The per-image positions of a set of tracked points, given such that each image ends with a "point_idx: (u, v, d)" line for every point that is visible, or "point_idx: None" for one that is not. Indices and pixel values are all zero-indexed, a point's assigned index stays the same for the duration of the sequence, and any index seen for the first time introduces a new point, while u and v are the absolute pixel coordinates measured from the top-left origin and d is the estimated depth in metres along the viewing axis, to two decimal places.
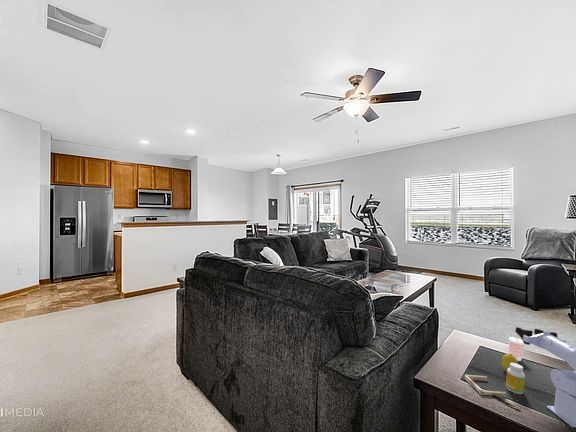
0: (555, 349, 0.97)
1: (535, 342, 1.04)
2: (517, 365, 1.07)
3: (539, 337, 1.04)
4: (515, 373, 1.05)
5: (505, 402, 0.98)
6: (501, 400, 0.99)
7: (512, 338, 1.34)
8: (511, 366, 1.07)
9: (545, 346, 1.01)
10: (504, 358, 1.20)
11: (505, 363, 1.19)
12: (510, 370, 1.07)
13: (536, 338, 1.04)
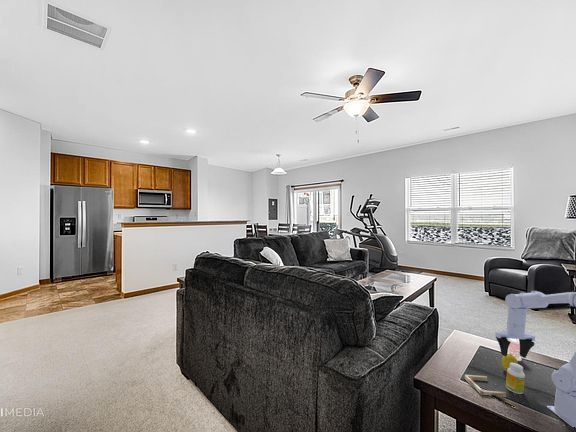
0: (510, 318, 1.13)
1: (507, 335, 1.12)
2: (517, 365, 1.07)
3: (506, 332, 1.14)
4: (515, 373, 1.05)
5: (505, 402, 0.98)
6: (501, 400, 1.00)
7: None
8: (511, 366, 1.07)
9: (510, 327, 1.12)
10: (504, 358, 1.20)
11: (505, 363, 1.19)
12: (510, 370, 1.07)
13: None
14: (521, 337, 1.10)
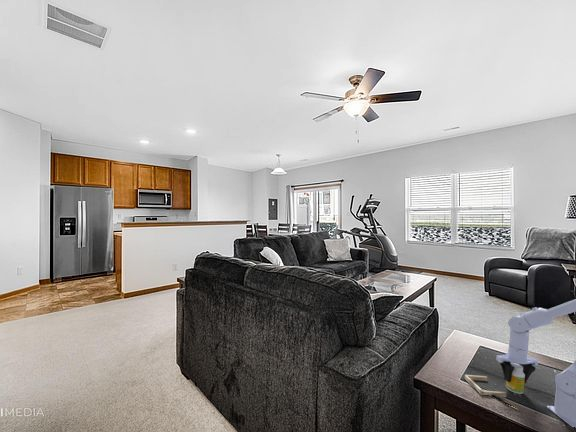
0: (514, 342, 1.06)
1: None
2: (517, 365, 1.07)
3: (507, 355, 1.08)
4: (515, 373, 1.05)
5: (504, 402, 0.99)
6: (500, 400, 1.00)
7: None
8: None
9: (512, 351, 1.06)
10: None
11: None
12: None
13: None
14: (523, 362, 1.04)
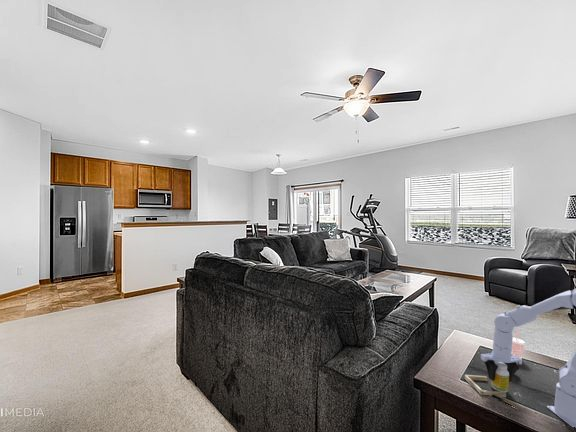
0: (501, 342, 1.05)
1: None
2: (501, 363, 1.07)
3: (491, 354, 1.08)
4: (499, 371, 1.06)
5: (504, 401, 0.99)
6: (500, 399, 1.00)
7: None
8: None
9: (496, 350, 1.06)
10: None
11: None
12: None
13: (491, 356, 1.08)
14: (507, 361, 1.04)
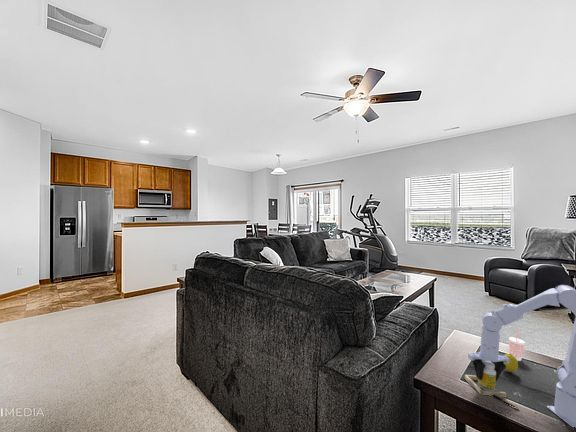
0: (489, 341, 1.05)
1: None
2: (489, 363, 1.07)
3: (479, 353, 1.09)
4: (486, 370, 1.06)
5: (503, 401, 0.99)
6: (500, 399, 1.00)
7: (512, 338, 1.34)
8: None
9: (483, 349, 1.06)
10: None
11: (505, 363, 1.19)
12: None
13: (478, 355, 1.08)
14: (494, 360, 1.04)
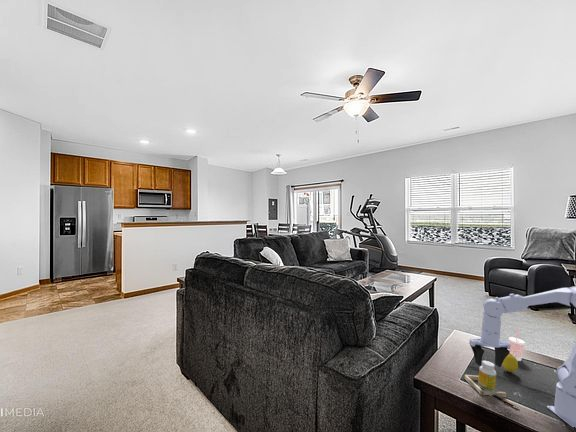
0: (490, 327, 1.05)
1: (482, 343, 1.06)
2: (489, 363, 1.07)
3: (480, 339, 1.08)
4: (486, 371, 1.06)
5: (503, 401, 0.99)
6: (500, 399, 1.00)
7: (512, 338, 1.34)
8: (483, 364, 1.07)
9: (484, 335, 1.06)
10: None
11: (505, 363, 1.19)
12: (482, 368, 1.07)
13: (479, 341, 1.08)
14: (495, 345, 1.04)
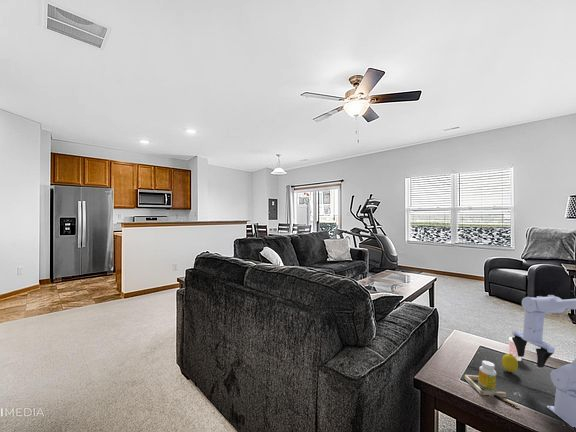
0: (526, 321, 1.10)
1: (521, 335, 1.13)
2: (489, 363, 1.07)
3: None
4: (486, 371, 1.06)
5: (504, 400, 0.99)
6: (500, 398, 1.00)
7: None
8: (483, 364, 1.07)
9: None
10: (504, 358, 1.20)
11: (505, 363, 1.19)
12: (482, 368, 1.07)
13: None
14: (526, 339, 1.09)
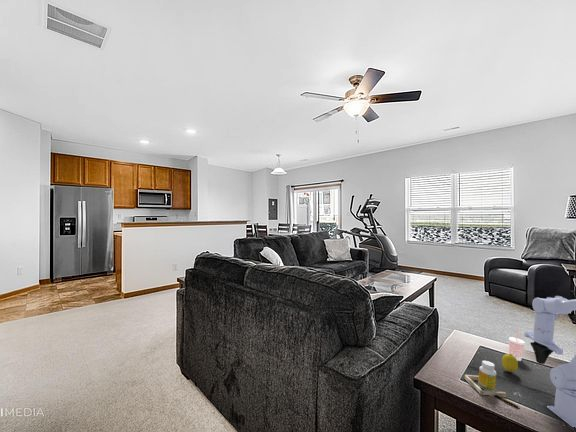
0: (535, 322, 1.09)
1: (532, 336, 1.12)
2: (489, 363, 1.07)
3: None
4: (486, 371, 1.06)
5: (503, 400, 1.00)
6: (499, 398, 1.01)
7: (512, 338, 1.34)
8: (483, 364, 1.07)
9: None
10: (504, 358, 1.20)
11: (505, 363, 1.19)
12: (482, 368, 1.07)
13: None
14: (535, 339, 1.09)
